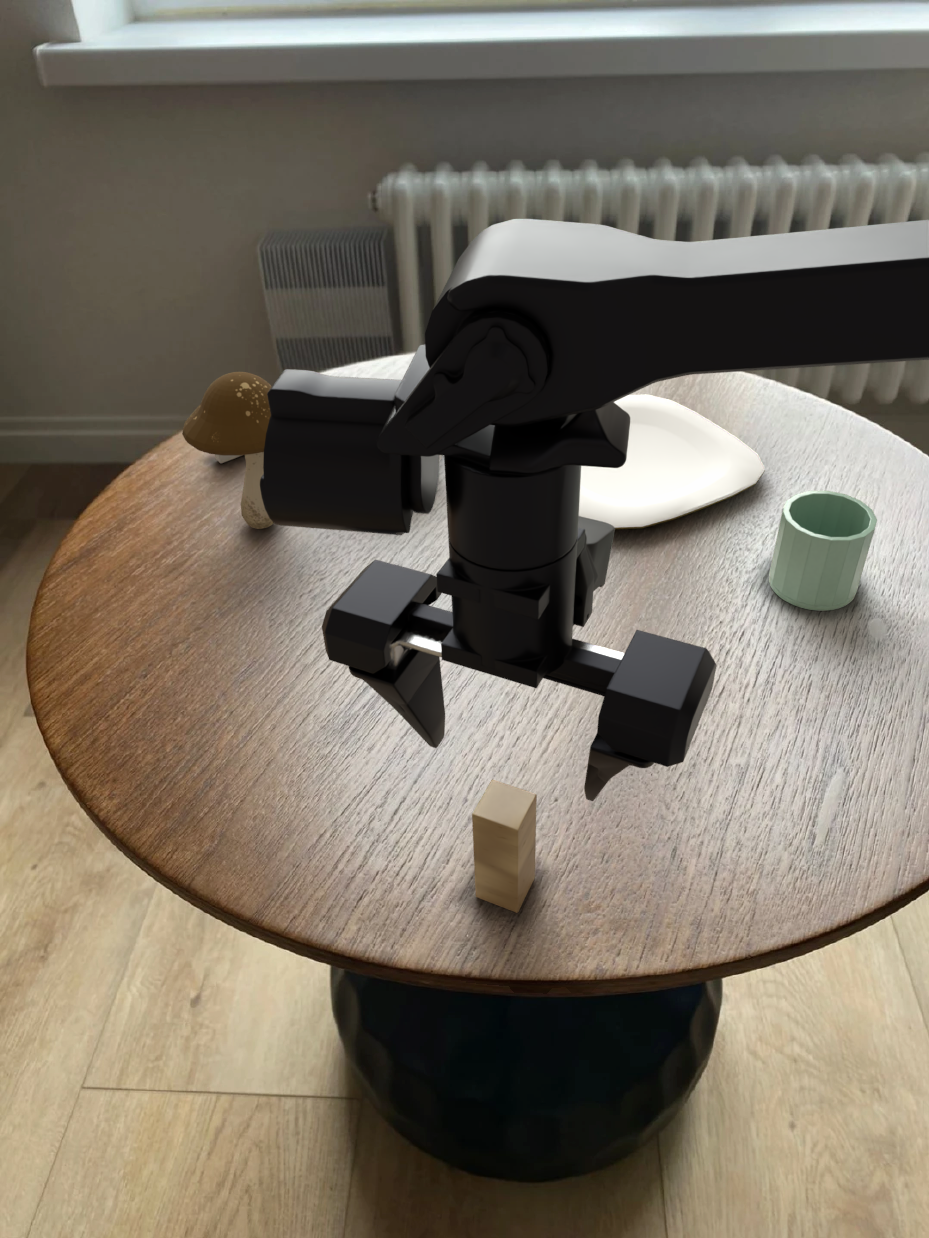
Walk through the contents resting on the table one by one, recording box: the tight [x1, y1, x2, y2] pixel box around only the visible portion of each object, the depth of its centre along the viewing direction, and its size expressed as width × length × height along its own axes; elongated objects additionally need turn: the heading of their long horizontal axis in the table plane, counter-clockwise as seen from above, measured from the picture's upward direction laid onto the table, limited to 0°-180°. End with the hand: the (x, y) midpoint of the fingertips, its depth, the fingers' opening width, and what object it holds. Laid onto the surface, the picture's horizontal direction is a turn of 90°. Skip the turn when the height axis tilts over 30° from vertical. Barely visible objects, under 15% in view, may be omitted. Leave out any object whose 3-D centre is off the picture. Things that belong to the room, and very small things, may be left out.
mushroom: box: [181, 371, 275, 530], centre depth 86 cm, size 9×11×15 cm
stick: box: [471, 779, 538, 914], centre depth 57 cm, size 3×3×8 cm
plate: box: [579, 393, 766, 530], centre depth 95 cm, size 22×22×2 cm
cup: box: [768, 490, 878, 612], centre depth 78 cm, size 7×7×7 cm
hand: (512, 767), depth 53 cm, fingers open, 9 cm apart
